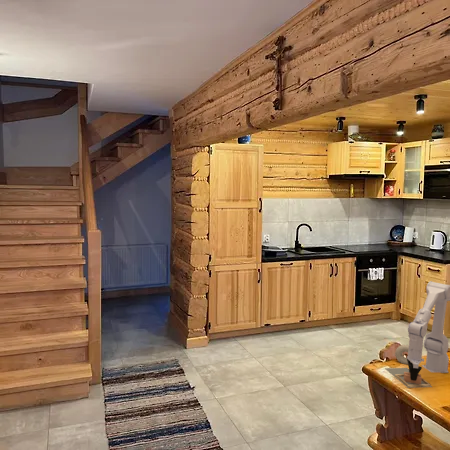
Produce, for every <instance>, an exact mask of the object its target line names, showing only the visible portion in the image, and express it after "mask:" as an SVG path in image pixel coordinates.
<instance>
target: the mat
mask: <svg viewBox="0 0 450 450" xmlns="http://www.w3.org/2000/svg"><path fill="white" fill-rule="evenodd" d="M384 370H386V371H387V372H388V373H389V374H390V375H392V377H394V378H395V379H397V380H398V381H399V382H400V383H401V384H402V385H404V386H405V387H406V388H407V389H409V388H410V389H413V388H415V389H416V388H419V389H420V387H407V386H406V385H405V384H404V383H403V382H401V381H400V380H399V379H398V378H396V377H395V374H404V372H409V367H391V368H386V367H385V368H384ZM400 378H401V379H403V380H404V376H403V377H400ZM406 383H407V384H409V385H414V384H416V383H410V382H406ZM421 384H425V383H424V382H423V381H421ZM428 388H433V386H432V385H431V386H429V387H428Z"/></svg>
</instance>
